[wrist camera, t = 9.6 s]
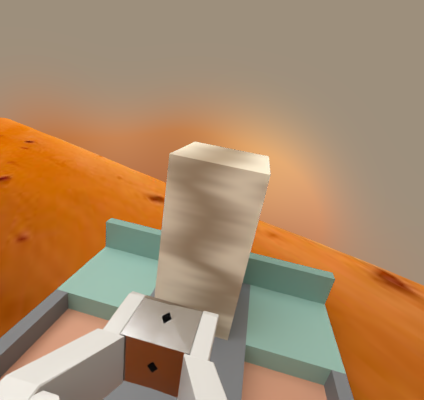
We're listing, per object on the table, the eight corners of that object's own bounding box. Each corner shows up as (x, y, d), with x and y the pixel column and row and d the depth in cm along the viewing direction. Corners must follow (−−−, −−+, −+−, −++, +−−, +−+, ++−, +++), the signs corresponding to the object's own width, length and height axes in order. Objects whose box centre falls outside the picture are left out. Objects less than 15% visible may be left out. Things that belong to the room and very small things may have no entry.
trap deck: (316, 312, 26) (332, 272, 24) (493, 1011, 6) (667, 1081, 4) (110, 257, 29) (111, 217, 27) (-250, 603, 9) (-340, 539, 7)
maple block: (235, 288, 25) (268, 156, 20) (227, 340, 19) (270, 174, 14) (176, 272, 25) (195, 141, 21) (152, 318, 20) (169, 153, 15)
